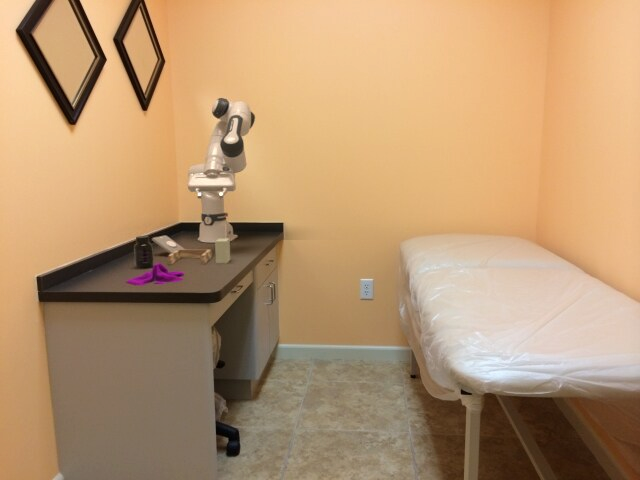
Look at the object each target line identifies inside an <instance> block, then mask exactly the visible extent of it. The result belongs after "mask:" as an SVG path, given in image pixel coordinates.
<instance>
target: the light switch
mask: <svg viewBox="0 0 640 480" xmlns="http://www.w3.org/2000/svg"><path fill="white" fill-rule="evenodd" d="M151 241H153V242H154V243H155V244H157V245H158V246H159V247H160V248H162V249H163V250H165V251H166V252H167V253H168V254H169V255H170V254H172V253H173V252H175V251H176V250H186V249H185V248H184V247H183V246H181V245H180V244H179V243H177V242H176V241H175V240H173V239H172V238H170V237H169V236H168V235H161V236H155V237H152V238H151Z"/></svg>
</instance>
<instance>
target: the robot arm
mask: <svg viewBox="0 0 640 480" xmlns="http://www.w3.org/2000/svg"><path fill="white" fill-rule="evenodd" d="M211 109H212V110H211V113H212V116H214V117H215V118H216V119H217V120H219V121H218V122H217V123H216V124H215V126H214V128H213V131H212V133H211V136H210V138H209V139H210V140H209V143H208V146H207V149H206V153H205V159H204V160H205V163H197V164H195V165H194V164H193V165H192V166H190V168H189V170H188V173H187V174H188V175H187V177H188V182H187V188H188V191H189V192H191V193H193V192H195V193H196V197H197V199H200V202H201V216H200V218H201V222H200V224H199V237H198V238H197V241H199V242H202V243H215V241H216V240H217V239H229V241H230V242H233V241H234V240H235V239H236V238H238V235H237V234H234V229H233V226H232V225H231V224H230V223H229V221H228V220H227V217H228V216H229V212H225V199H224V198H225V196H226V194H227V193H228V192H235V191H236V189H237V188H236V186H237V185H236V173H238V174H239V173H240V172H241V173H242V171H244V170H245V169H246V167H247V160H246V159H247V158H246V152H245V144H244V139H243V137H244V136H247V135H248V134H249V132H250V129H251V128H253V126H254V124H255V121H256V115H255V114H254V113H253V111H251V108H250V105H249V104H247V103H246V102H244V101H241V100H240V101H232V100H229V99H227V98H224V97H219V98H217V99H216V100H215V101H214V102H213V104H212V107H211Z"/></svg>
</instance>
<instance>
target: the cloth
mask: <svg viewBox="0 0 640 480" xmlns="http://www.w3.org/2000/svg"><path fill="white" fill-rule="evenodd" d="M184 276H185V273H184V272H183V271H178V270H177V271H169V269H168V268H167V267H165V265H163V264H162V263H161V262H157V263H154V265H153V266H152V269H151V270H149V271H146V272H144V273H142V274H141V275H139V276H135V277H132V278H130V279H128V280H126V281H125V283H126V284H130V285H136V286H139V287H140V286H145V285H146V284H149V283H153V282H154V284H153V285H165V283H172V282H179V281H181V282H182V281H184V280H185V279H184V278H183V277H184Z"/></svg>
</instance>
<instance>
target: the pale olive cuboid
mask: <svg viewBox="0 0 640 480" xmlns="http://www.w3.org/2000/svg"><path fill="white" fill-rule="evenodd" d="M230 242H231V241H229V239H217V240H216V241H215V242H214V248H215V264H228V263H229V262H230V261H231V246H230V245H231V244H230Z"/></svg>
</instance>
